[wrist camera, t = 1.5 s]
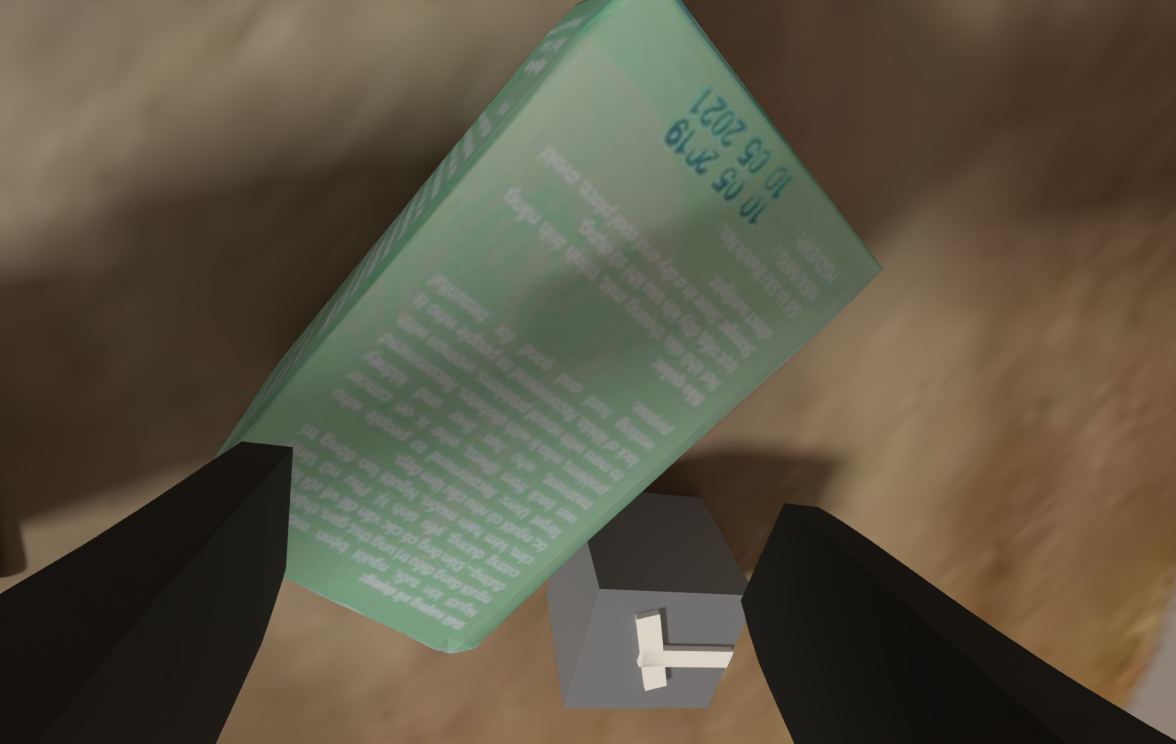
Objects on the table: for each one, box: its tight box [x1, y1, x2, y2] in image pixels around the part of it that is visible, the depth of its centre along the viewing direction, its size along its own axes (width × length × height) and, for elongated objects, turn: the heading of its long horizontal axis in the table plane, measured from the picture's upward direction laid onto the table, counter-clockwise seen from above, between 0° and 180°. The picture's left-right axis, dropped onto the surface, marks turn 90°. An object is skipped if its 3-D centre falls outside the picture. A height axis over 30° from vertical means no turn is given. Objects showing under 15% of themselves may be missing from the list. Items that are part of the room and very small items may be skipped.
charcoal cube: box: [546, 492, 749, 709], centre depth 21 cm, size 5×5×5 cm
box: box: [213, 0, 883, 653], centre depth 15 cm, size 7×14×8 cm, turn 135°
